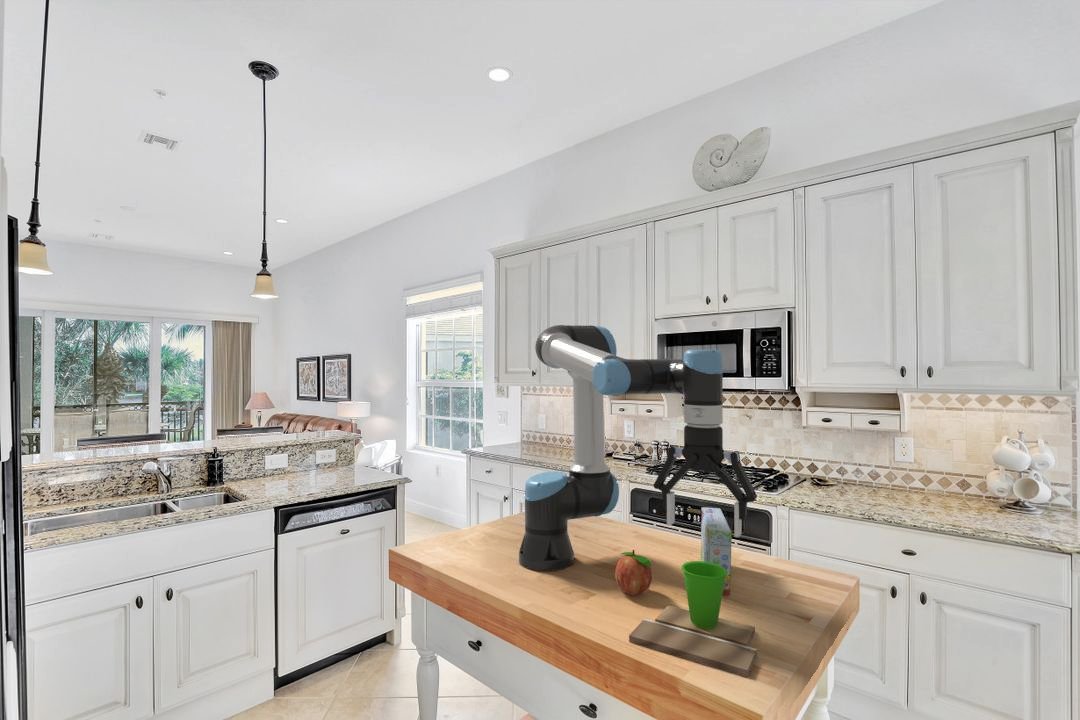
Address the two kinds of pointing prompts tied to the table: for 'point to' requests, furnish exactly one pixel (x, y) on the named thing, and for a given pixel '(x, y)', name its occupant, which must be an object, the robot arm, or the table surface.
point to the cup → (704, 591)
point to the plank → (722, 630)
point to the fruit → (633, 573)
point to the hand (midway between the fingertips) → (703, 529)
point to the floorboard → (695, 646)
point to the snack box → (716, 542)
